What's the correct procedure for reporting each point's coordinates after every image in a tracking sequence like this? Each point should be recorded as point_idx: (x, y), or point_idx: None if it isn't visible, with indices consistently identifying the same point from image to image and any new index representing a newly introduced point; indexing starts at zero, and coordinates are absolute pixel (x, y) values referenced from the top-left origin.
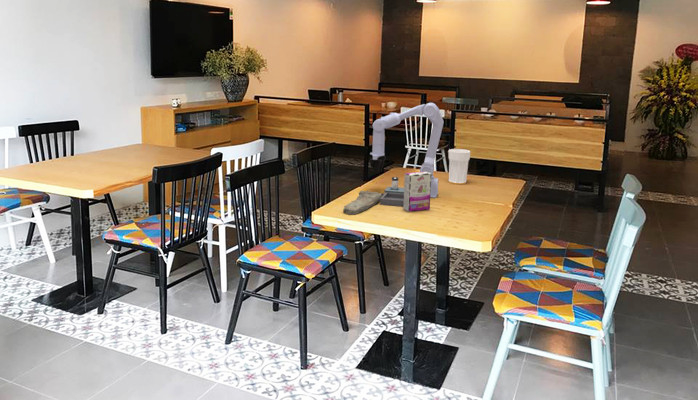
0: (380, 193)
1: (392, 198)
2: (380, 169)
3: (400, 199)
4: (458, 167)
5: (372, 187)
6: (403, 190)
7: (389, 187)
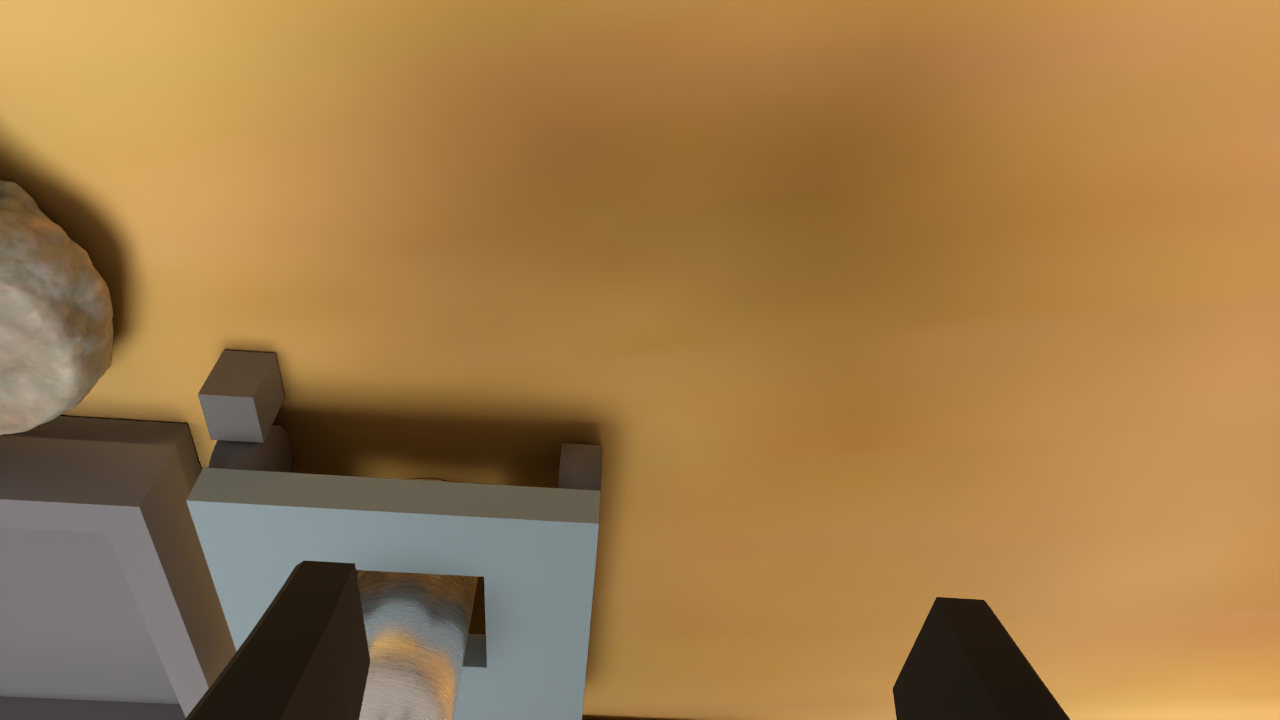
0: (35, 421)
1: (107, 539)
2: (912, 717)
3: (123, 624)
4: None
5: (1155, 63)
6: None
7: (506, 548)
